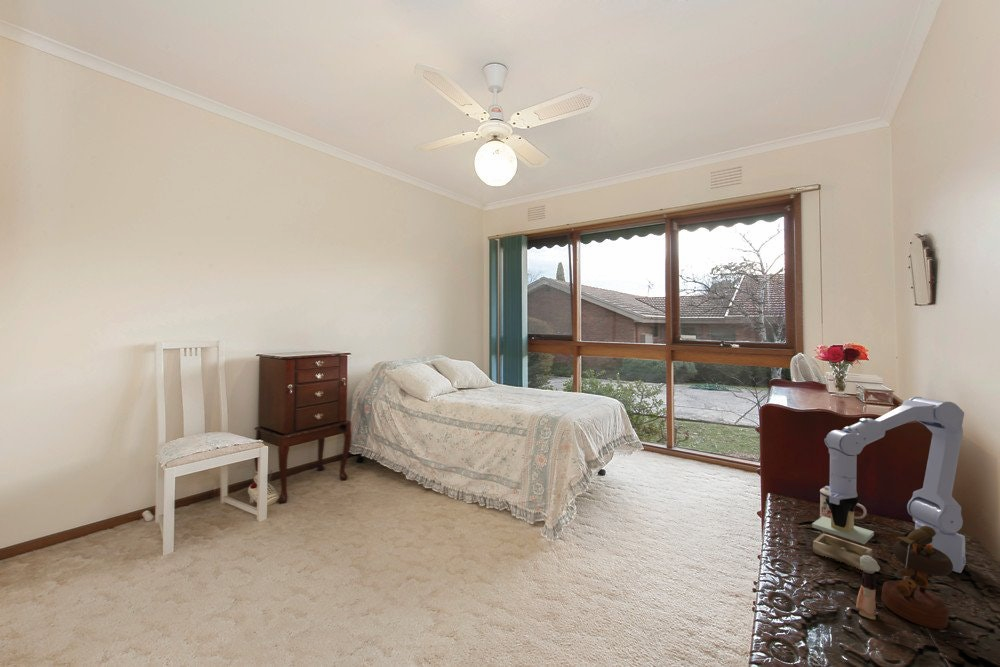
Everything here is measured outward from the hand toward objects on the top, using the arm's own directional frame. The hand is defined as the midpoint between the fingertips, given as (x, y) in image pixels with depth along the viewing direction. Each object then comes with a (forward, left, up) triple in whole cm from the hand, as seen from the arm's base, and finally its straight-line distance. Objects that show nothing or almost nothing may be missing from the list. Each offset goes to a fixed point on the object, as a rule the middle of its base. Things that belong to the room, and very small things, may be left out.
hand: (842, 523), depth 114 cm
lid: (0, 0, -2) cm, 2 cm away
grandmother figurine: (-11, +25, -9) cm, 29 cm away
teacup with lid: (+7, -27, -9) cm, 29 cm away
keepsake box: (0, 0, -9) cm, 9 cm away
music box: (-17, +15, -9) cm, 25 cm away
